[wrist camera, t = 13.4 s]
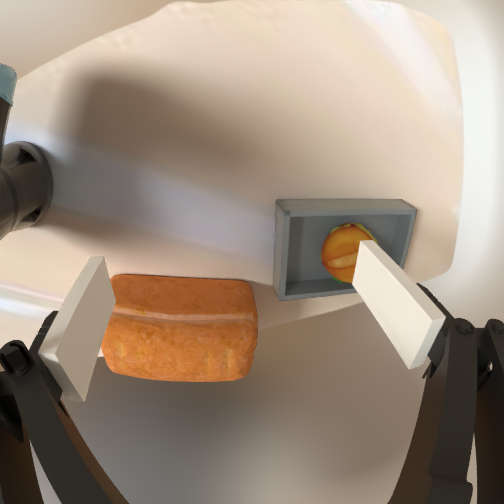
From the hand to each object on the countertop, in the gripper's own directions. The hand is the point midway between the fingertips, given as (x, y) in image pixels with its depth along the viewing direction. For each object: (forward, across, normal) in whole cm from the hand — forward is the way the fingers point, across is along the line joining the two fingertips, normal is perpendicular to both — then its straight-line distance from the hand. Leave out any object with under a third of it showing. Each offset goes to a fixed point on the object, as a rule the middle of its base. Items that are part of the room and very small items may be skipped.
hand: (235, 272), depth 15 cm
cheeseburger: (+31, +21, -15) cm, 40 cm away
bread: (+32, -8, -26) cm, 42 cm away
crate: (+32, +21, -15) cm, 41 cm away
